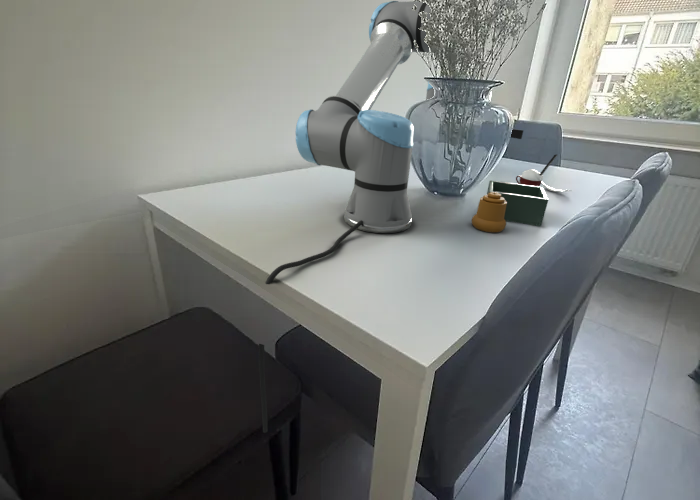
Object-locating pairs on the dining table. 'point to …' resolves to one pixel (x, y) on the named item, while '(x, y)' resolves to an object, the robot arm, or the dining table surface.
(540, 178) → the cocoa
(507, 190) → the bin
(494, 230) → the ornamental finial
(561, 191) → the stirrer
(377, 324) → the dining table surface
